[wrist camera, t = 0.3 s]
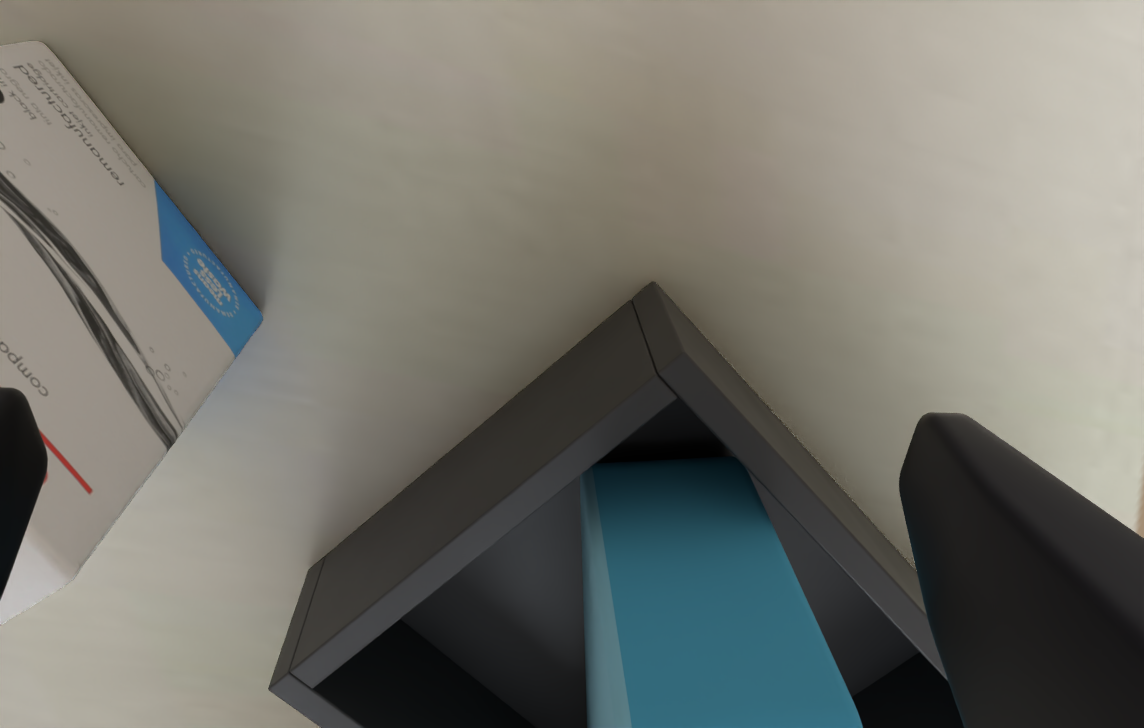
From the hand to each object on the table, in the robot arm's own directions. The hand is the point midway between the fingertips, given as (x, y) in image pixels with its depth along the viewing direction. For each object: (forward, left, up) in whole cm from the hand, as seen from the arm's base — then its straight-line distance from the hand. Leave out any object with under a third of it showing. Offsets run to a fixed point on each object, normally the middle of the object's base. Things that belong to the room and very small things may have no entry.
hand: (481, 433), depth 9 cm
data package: (-6, -13, -15) cm, 21 cm away
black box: (-6, -13, -15) cm, 21 cm away
